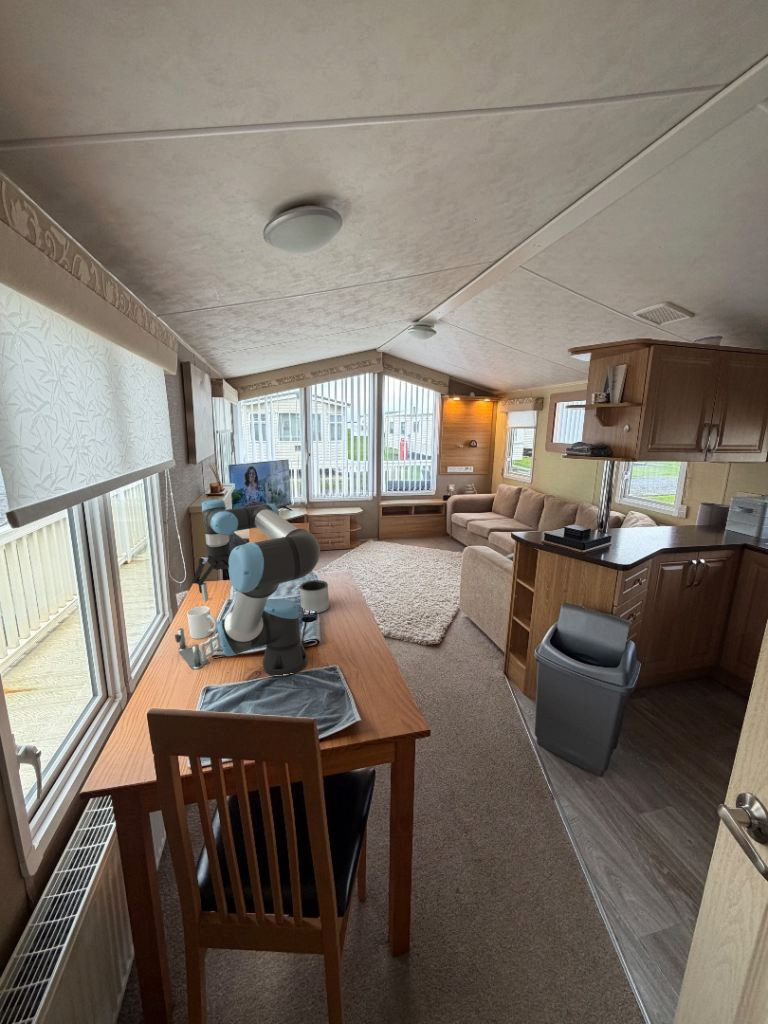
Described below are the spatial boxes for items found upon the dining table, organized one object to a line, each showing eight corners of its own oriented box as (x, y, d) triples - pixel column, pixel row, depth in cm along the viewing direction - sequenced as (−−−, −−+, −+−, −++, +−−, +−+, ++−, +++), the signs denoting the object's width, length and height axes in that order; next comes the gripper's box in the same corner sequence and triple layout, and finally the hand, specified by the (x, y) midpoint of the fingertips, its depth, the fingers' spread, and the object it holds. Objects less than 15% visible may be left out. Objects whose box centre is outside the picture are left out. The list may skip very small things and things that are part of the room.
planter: (304, 616, 183) (302, 592, 180) (298, 605, 194) (297, 582, 192) (332, 611, 187) (331, 588, 185) (325, 600, 199) (324, 578, 196)
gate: (203, 661, 149) (201, 644, 148) (201, 661, 150) (199, 644, 148) (228, 644, 160) (226, 628, 158) (226, 644, 160) (224, 628, 159)
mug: (224, 631, 172) (221, 608, 169) (211, 641, 164) (208, 617, 162) (199, 628, 175) (196, 605, 172) (185, 638, 167) (182, 614, 165)
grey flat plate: (210, 662, 150) (210, 661, 150) (192, 669, 146) (192, 668, 146) (195, 646, 161) (195, 645, 161) (178, 652, 157) (178, 651, 157)
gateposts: (204, 666, 147) (201, 646, 146) (193, 671, 145) (190, 650, 143) (186, 645, 161) (183, 626, 160) (175, 649, 159) (172, 630, 157)
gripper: (256, 539, 152) (262, 594, 156) (187, 542, 151) (194, 597, 156) (250, 545, 144) (256, 603, 149) (177, 548, 144) (185, 605, 149)
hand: (224, 600), depth 152 cm, fingers open, 13 cm apart
